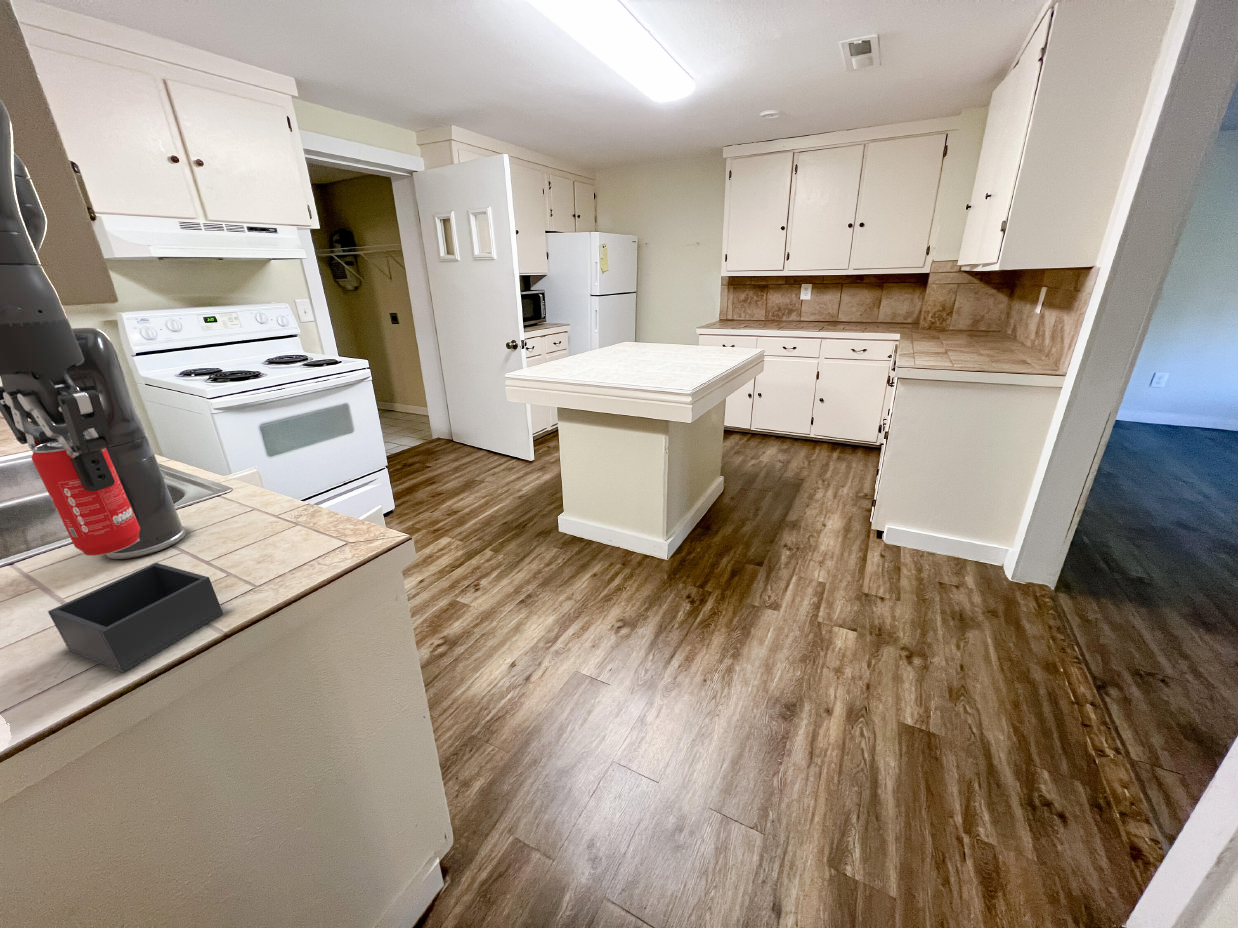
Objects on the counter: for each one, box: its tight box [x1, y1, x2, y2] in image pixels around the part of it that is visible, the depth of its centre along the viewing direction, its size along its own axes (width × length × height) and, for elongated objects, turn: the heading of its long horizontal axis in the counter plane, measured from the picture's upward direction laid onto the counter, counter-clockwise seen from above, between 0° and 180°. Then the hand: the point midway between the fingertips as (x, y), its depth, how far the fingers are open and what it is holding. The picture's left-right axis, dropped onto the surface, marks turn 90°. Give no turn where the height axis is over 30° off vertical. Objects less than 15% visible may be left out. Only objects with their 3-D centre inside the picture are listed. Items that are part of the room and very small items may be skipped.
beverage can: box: [30, 437, 140, 557], centre depth 52 cm, size 5×5×12 cm
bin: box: [47, 562, 224, 674], centre depth 57 cm, size 10×10×6 cm
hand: (84, 484), depth 51 cm, fingers closed on beverage can, 5 cm apart
